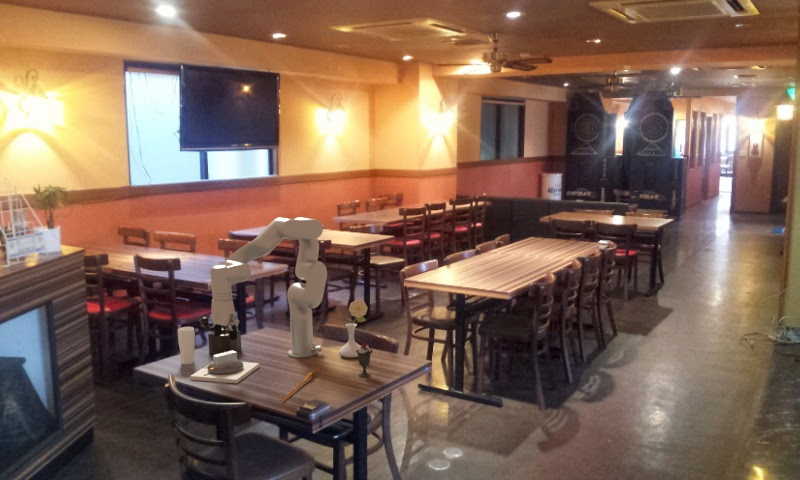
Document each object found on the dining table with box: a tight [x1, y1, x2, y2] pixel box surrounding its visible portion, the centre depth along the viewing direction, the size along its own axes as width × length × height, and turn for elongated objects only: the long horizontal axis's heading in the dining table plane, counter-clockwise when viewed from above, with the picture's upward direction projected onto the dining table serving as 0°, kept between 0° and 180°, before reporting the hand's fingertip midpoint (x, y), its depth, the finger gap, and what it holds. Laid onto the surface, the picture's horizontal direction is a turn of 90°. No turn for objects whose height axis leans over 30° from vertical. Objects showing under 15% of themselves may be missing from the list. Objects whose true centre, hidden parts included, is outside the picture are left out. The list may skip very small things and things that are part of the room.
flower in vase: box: [338, 299, 369, 359], centre depth 296 cm, size 13×11×25 cm
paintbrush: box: [280, 366, 321, 404], centre depth 261 cm, size 1×35×3 cm, turn 164°
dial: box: [208, 350, 243, 374], centre depth 277 cm, size 14×14×6 cm
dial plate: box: [190, 361, 260, 384], centre depth 277 cm, size 20×20×2 cm
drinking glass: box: [177, 326, 196, 366], centre depth 289 cm, size 7×7×15 cm
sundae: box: [356, 339, 373, 378], centre depth 271 cm, size 7×7×15 cm
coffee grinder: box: [199, 316, 242, 356], centre depth 300 cm, size 16×11×18 cm
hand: (226, 337), depth 276 cm, fingers open, 9 cm apart
